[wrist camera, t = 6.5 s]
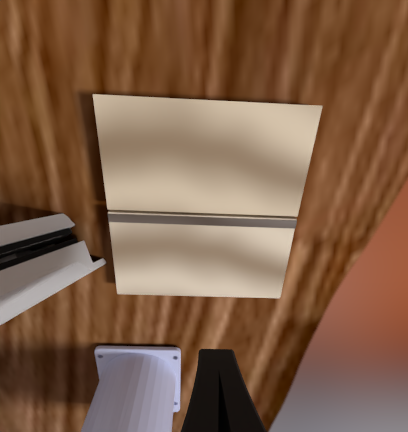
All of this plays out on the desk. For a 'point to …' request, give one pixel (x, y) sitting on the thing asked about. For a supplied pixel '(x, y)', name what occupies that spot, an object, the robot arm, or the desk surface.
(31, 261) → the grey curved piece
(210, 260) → the laid board
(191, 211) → the board
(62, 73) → the desk surface
